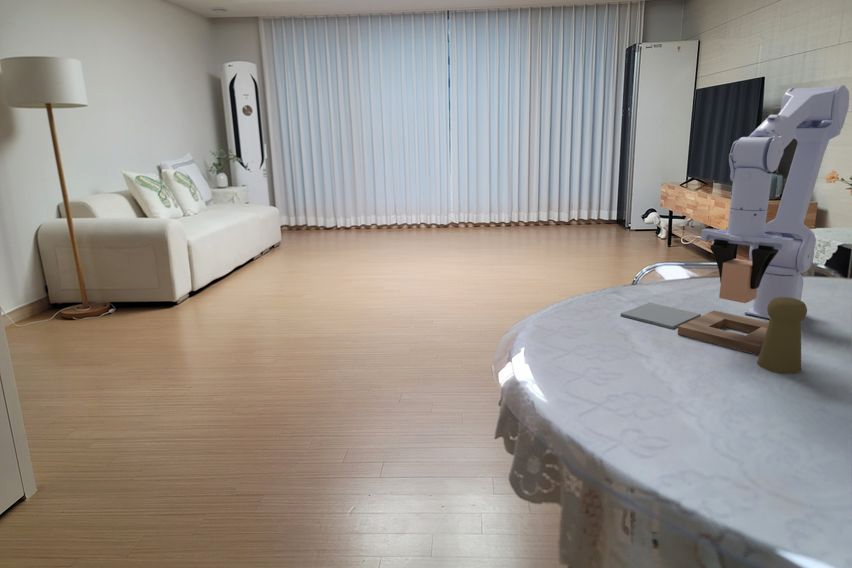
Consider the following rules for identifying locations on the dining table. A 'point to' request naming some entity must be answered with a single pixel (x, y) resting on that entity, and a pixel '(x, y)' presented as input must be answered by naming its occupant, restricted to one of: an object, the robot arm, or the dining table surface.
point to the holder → (710, 332)
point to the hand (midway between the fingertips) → (739, 285)
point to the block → (737, 281)
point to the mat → (661, 315)
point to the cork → (783, 336)
